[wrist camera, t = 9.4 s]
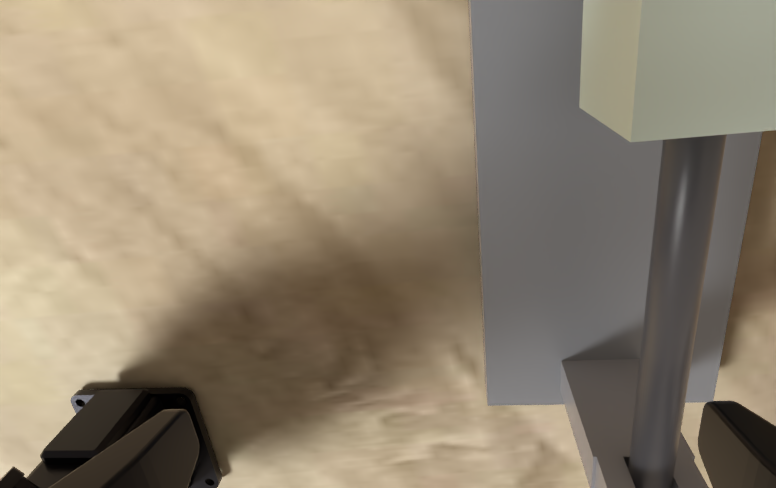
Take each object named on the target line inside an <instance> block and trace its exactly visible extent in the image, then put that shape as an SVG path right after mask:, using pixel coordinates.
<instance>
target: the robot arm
mask: <svg viewBox="0 0 776 488" xmlns="http://www.w3.org/2000/svg"><path fill="white" fill-rule="evenodd" d="M181 397H182V398H181ZM183 398H184V399H183ZM71 403H72V406H73V408H74V410H75V412H76V415H75V416H74V417H73V418H72V420H71V421H70V422H69V423H68V424H67V425H66V426H65V427H64V428H63V429H62V430H61V431H60V432H59V434H58V435H57V436H56V437H55V438H54V439H53V440H52V441H51V442H50V443H49V444H48V445H47V446H46V448H45V449H44V450H43V452H42V453H41V455H40V456H41V459H42V461H41V462H40V464H39V465H38V466H37V467H36V468H35V469H34V470H33V471H32V472H31V473H30V475H29V476H28V477H27V478H25V477H24V473H23V472H21V471H20V470H18V469H17V468H15V467H12V468H11V469H10V470H9V471H8V472H7V473H6V474H5V475H4V476H3V477H2V478H1V479H0V488H217V487H218V485H219V483H220V481H221V479H222V476H221V473H220V470H219V467H218V464H217V461H216V458H215V455H214V452H213V449H212V446H211V443H210V440H209V437H208V434H207V431H206V428H205V425H204V422H203V419H202V416H201V413H200V410H199V407H198V404H197V401H196V398H195V395H194V394H193V392H192V391H191V390H189V389H187V388H146V389H100V390H79V391H78V392H77V393H76V394H75V395H74V396H73V397H72V398H71ZM698 448H699V452H700V455H701V458H702V461H703V463H704V466H705V468H706V471H707V474H708V476H709V479H710V481H711V484H712V486H713V488H776V426H774V425H773V424H771V423H770V422H768V421H766V420H765V419H763V418H762V417H760V416H758V415H757V414H755V413H754V412H752V411H750V410H749V409H747V408H745V407H744V406H742V405H741V404H739V403H737V402H734V401H710V402H707V403H706V404H705V406H704V408H703V413H702V419H701V425H700V430H699V436H698Z"/></svg>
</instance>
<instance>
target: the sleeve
mask: <svg viewBox="0 0 776 488" xmlns="http://www.w3.org/2000/svg"><path fill="white" fill-rule="evenodd" d="M579 108H581V109H582V110H584V111H585V112H587V113H588V114H590V115H591V116H593V117H594V118H595V119H597V120H598V121H600V122H601V123H603V124H604V125H606V126H607V127H609V128H610V129H612V130H613V131H615V132H616V133H617V134H619V135H620V136H622V137H623V138H625V139H626V140H628V141H629V142H642V141H654V140H666V139H677V138H689V137H701V136H713V135H725V134H737V133H749V132H761V131H772V130H776V0H583V23H582V49H581V75H580V101H579Z"/></svg>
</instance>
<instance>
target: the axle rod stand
mask: <svg viewBox="0 0 776 488" xmlns="http://www.w3.org/2000/svg"><path fill="white" fill-rule="evenodd" d="M468 3H469V26H470V48H471V71H472V93H473V116H474V138H475V161H476V183H477V206H478V228H479V251H480V273H481V296H482V319H483V341H484V364H485V384H486V393H487V403H488V405H554V404H565V407H566V411H567V414H568V417H569V421H570V424H571V427H572V430H573V434H574V437H575V440H576V443H577V447H578V450H579V453H580V456H581V460H582V463H583V466H584V470H585V473H586V476H587V479H588V483H589V486H590V488H709V487H708V486H707V484H706V482H705V480H704V479H703V477H702V475H701V473H700V471H699V470H698V468H697V466H696V464H695V462H694V458H695V456H694V454H693V453H692V451H691V449H690V447H689V446H688V444H687V442H686V440H685V438H684V437H683V435H682V433H681V425H682V418H683V412H684V406H685V403H686V402H710V401H713V398H714V393H715V388H716V382H717V377H718V371H719V366H720V360H721V355H722V350H723V344H724V339H725V333H726V328H727V322H728V317H729V311H730V306H731V301H732V295H733V290H734V284H735V279H736V273H737V268H738V263H739V257H740V252H741V246H742V241H743V235H744V230H745V225H746V219H747V214H748V208H749V203H750V197H751V192H752V186H753V181H754V176H755V170H756V165H757V159H758V154H759V148H760V143H761V138H762V132H763V131H761V132H749V133H737V134H725V135H713V136H701V137H689V138H677V139H666V140H654V141H642V142H629V141H628V140H626V139H625V138H623V137H622V136H620V135H619V134H617V133H616V132H615V131H613V130H612V129H610V128H609V127H607V126H606V125H604V124H603V123H601V122H600V121H598V120H597V119H595V118H594V117H593V116H591V115H590V114H588V113H587V112H585V111H584V110H582V109H581V108H579V101H580V75H581V49H582V23H583V0H468Z"/></svg>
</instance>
